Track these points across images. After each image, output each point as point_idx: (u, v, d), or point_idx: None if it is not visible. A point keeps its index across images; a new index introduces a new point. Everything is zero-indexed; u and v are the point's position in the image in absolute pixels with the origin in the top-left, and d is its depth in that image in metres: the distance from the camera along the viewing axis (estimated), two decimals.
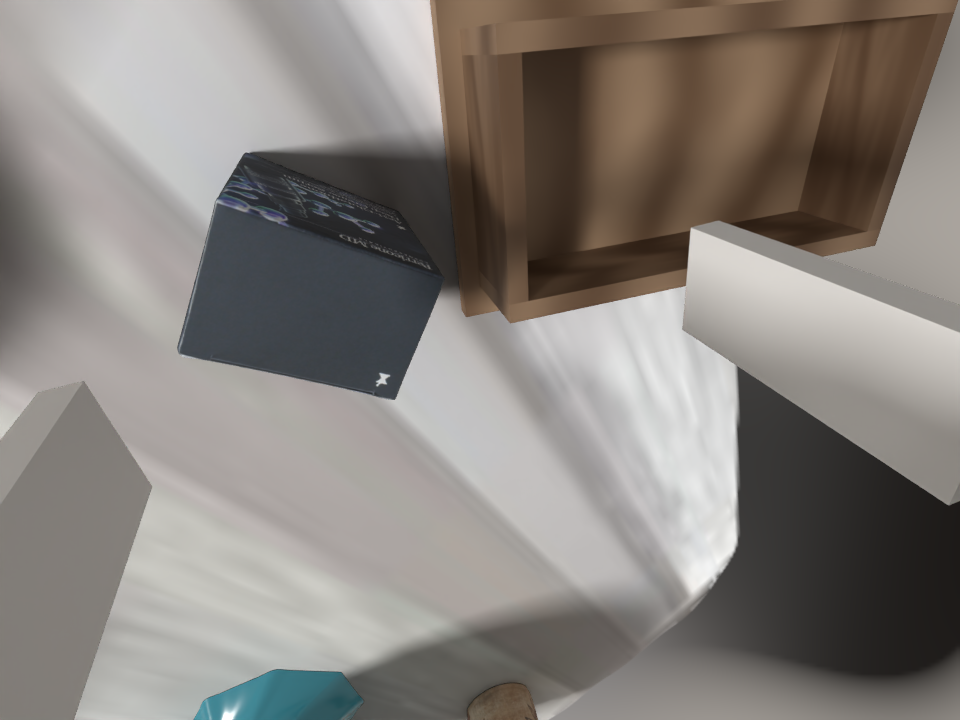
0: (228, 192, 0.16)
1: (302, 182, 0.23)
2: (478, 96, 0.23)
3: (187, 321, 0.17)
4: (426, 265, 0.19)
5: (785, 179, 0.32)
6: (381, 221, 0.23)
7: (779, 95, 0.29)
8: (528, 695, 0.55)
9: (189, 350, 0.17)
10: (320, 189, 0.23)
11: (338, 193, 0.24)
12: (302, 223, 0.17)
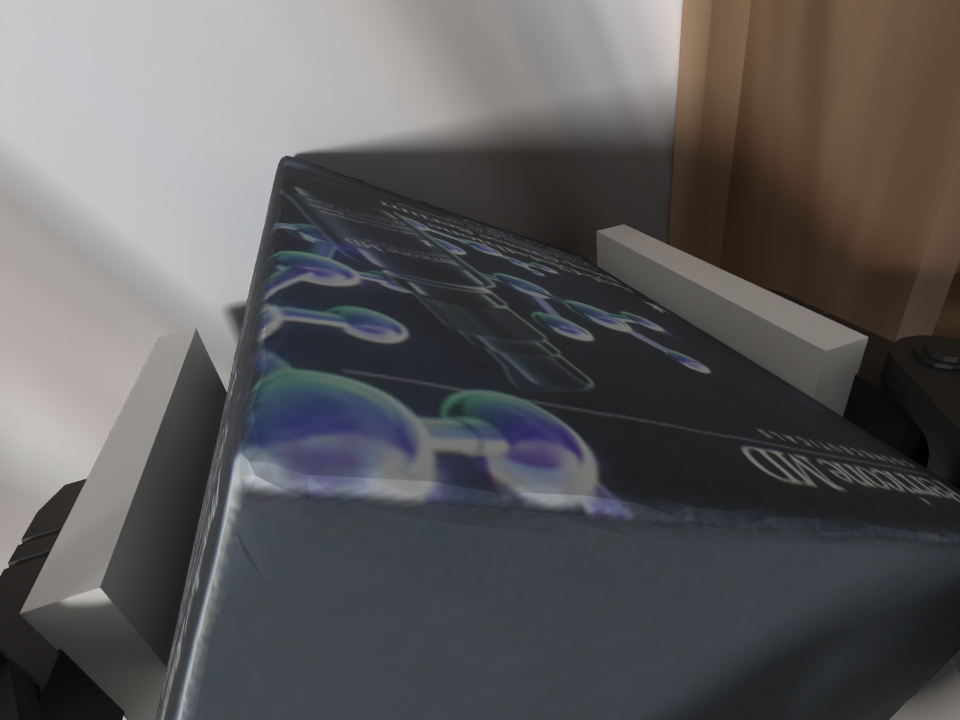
0: (290, 338, 0.03)
1: (423, 216, 0.10)
2: None
3: None
4: (944, 487, 0.06)
5: None
6: (626, 301, 0.09)
7: None
8: None
9: None
10: (462, 229, 0.10)
11: (490, 233, 0.11)
12: (638, 449, 0.04)
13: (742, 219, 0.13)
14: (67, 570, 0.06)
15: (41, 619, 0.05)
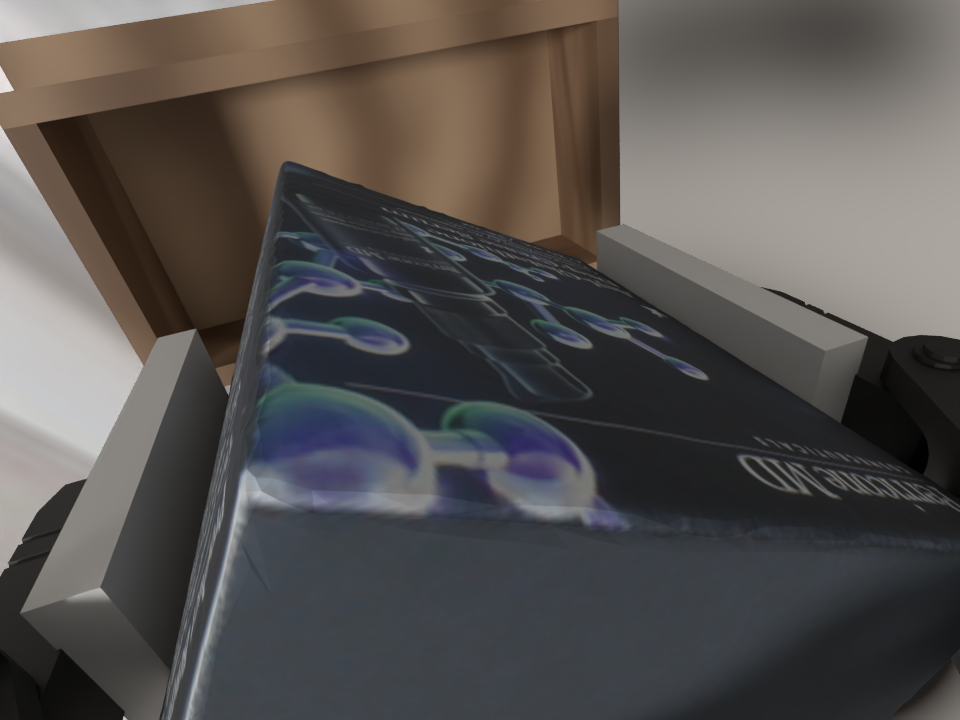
0: (294, 351, 0.03)
1: (424, 222, 0.10)
2: None
3: None
4: (938, 494, 0.06)
5: (533, 203, 0.29)
6: (625, 306, 0.09)
7: (491, 117, 0.27)
8: None
9: None
10: (463, 234, 0.10)
11: (490, 238, 0.11)
12: (635, 459, 0.04)
13: None
14: (68, 570, 0.06)
15: (42, 619, 0.05)
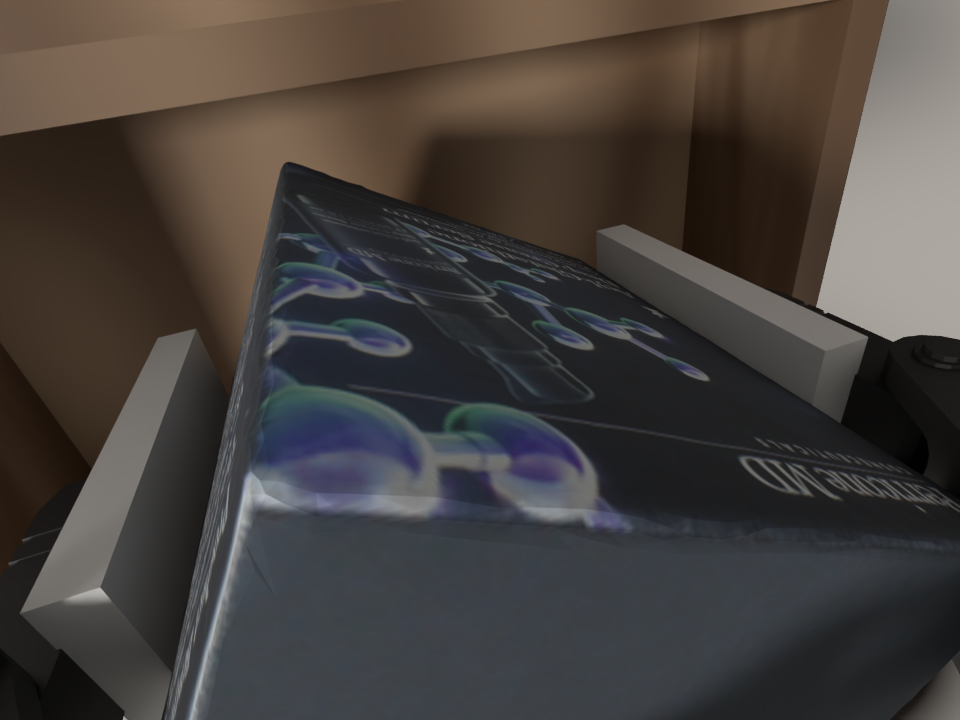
0: (296, 353, 0.03)
1: (425, 222, 0.10)
2: None
3: None
4: (939, 495, 0.06)
5: None
6: (626, 306, 0.09)
7: (597, 158, 0.16)
8: None
9: None
10: (463, 235, 0.10)
11: (490, 238, 0.11)
12: (637, 461, 0.04)
13: None
14: (67, 570, 0.06)
15: (41, 619, 0.05)
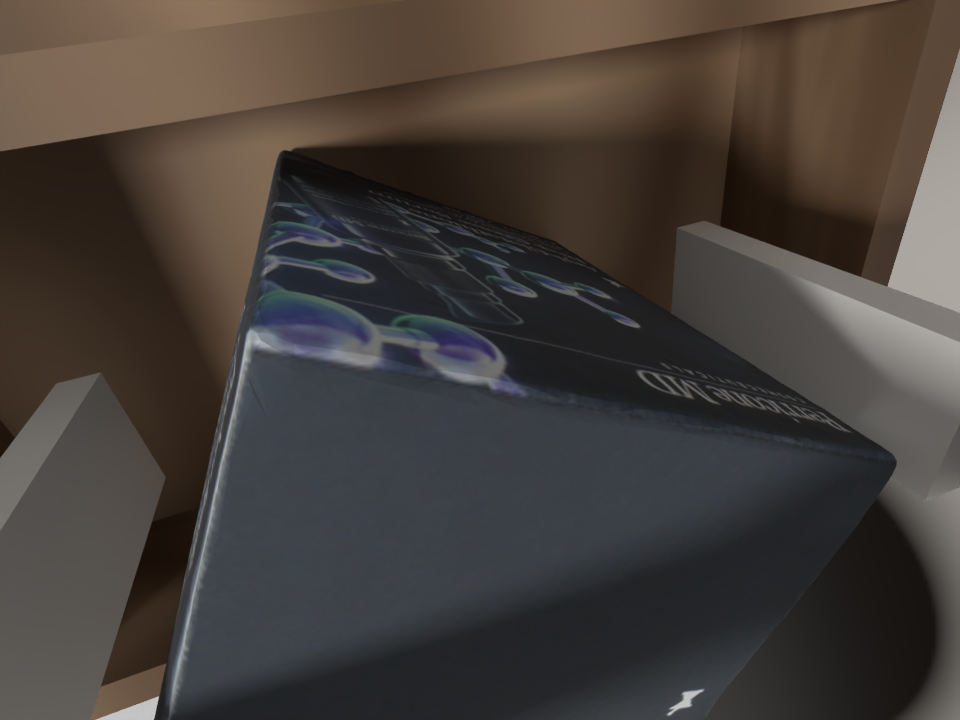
0: (284, 274, 0.04)
1: (406, 203, 0.11)
2: None
3: None
4: (823, 416, 0.07)
5: None
6: (585, 276, 0.10)
7: (628, 172, 0.15)
8: None
9: None
10: (441, 215, 0.11)
11: (468, 219, 0.12)
12: (544, 360, 0.05)
13: None
14: None
15: None
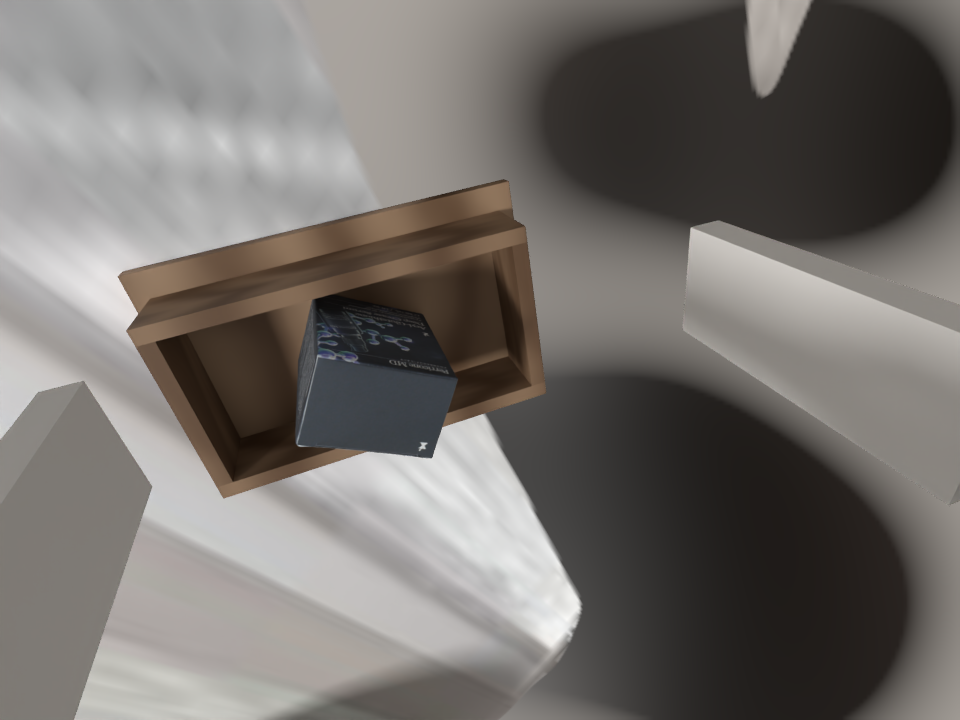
0: (321, 345, 0.27)
1: (355, 310, 0.33)
2: None
3: (302, 425, 0.27)
4: (445, 370, 0.29)
5: (485, 337, 0.40)
6: (412, 333, 0.33)
7: (450, 285, 0.37)
8: None
9: (303, 442, 0.27)
10: (368, 313, 0.34)
11: (379, 311, 0.35)
12: (366, 358, 0.27)
13: None
14: None
15: None
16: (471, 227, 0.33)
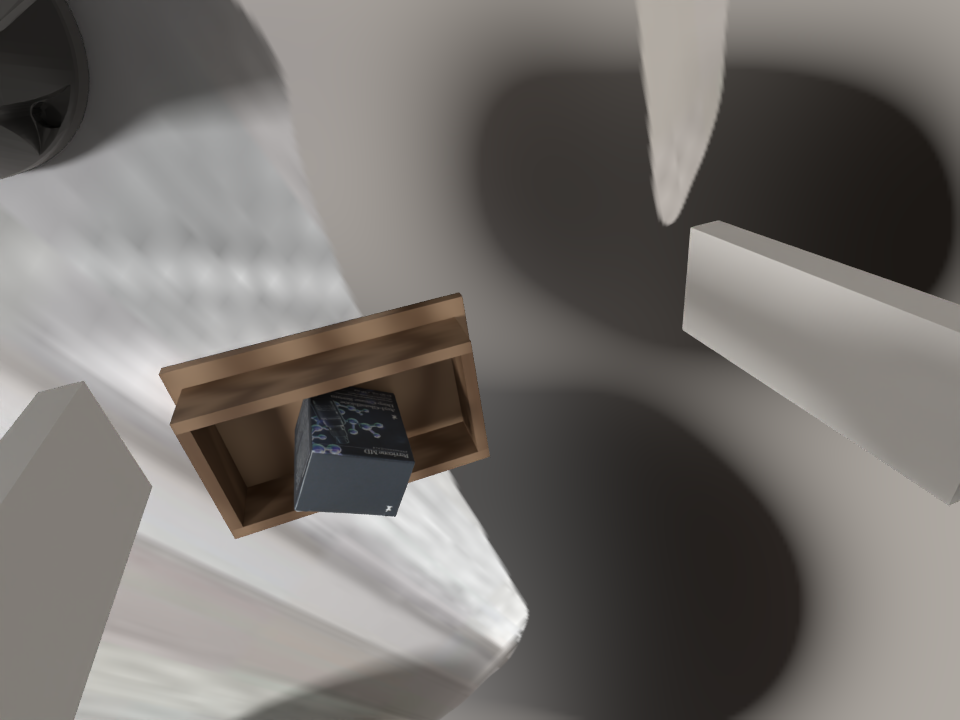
0: (314, 440, 0.37)
1: (340, 397, 0.43)
2: None
3: (299, 497, 0.37)
4: (406, 455, 0.39)
5: (444, 408, 0.50)
6: (383, 417, 0.43)
7: (416, 371, 0.47)
8: None
9: (299, 508, 0.38)
10: (350, 399, 0.44)
11: (359, 396, 0.45)
12: (347, 449, 0.37)
13: None
14: None
15: None
16: (431, 335, 0.43)
